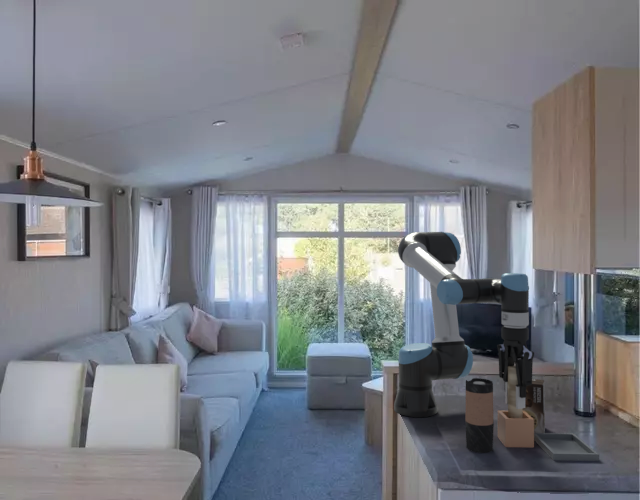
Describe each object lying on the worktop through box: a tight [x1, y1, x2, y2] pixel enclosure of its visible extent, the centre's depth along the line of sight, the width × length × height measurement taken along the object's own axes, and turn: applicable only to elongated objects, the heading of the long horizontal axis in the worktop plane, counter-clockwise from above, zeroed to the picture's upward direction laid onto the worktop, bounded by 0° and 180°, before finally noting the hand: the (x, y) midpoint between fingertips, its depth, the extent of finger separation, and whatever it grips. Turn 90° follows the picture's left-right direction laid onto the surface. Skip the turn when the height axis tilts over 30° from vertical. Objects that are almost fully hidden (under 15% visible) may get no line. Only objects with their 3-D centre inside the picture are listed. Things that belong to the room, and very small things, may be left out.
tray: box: [534, 432, 600, 462], centre depth 150 cm, size 16×12×3 cm
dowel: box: [507, 365, 523, 418], centre depth 156 cm, size 4×4×22 cm
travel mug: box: [464, 377, 494, 454], centre depth 151 cm, size 8×8×20 cm
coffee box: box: [523, 378, 546, 433], centre depth 167 cm, size 9×6×16 cm
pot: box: [497, 409, 535, 448], centre depth 156 cm, size 8×8×9 cm
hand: (515, 405), depth 156 cm, fingers closed on dowel, 4 cm apart
